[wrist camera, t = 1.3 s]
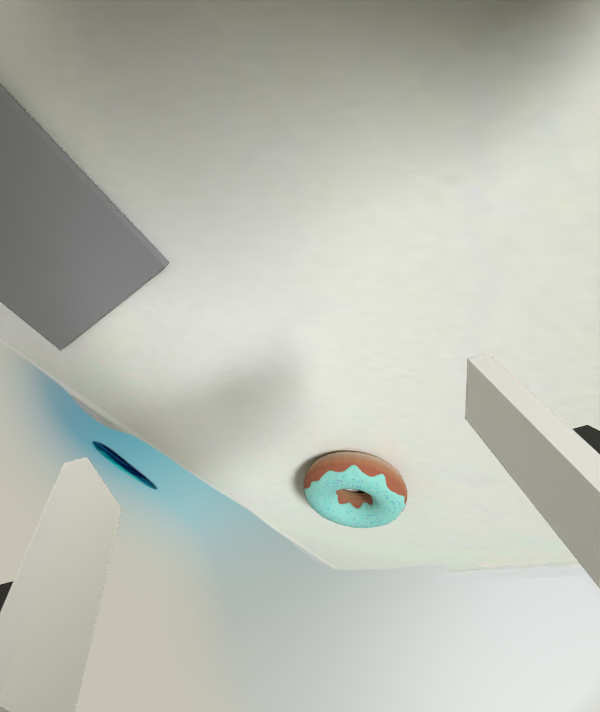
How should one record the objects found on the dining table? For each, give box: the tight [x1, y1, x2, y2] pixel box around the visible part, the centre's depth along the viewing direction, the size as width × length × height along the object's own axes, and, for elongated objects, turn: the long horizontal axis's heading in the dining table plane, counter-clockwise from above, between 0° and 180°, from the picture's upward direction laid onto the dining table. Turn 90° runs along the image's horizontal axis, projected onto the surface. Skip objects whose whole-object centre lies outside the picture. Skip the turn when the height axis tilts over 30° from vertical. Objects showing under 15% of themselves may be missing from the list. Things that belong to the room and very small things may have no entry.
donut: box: [304, 451, 407, 528], centre depth 48 cm, size 12×12×4 cm
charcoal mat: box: [0, 85, 169, 350], centre depth 36 cm, size 18×18×1 cm
